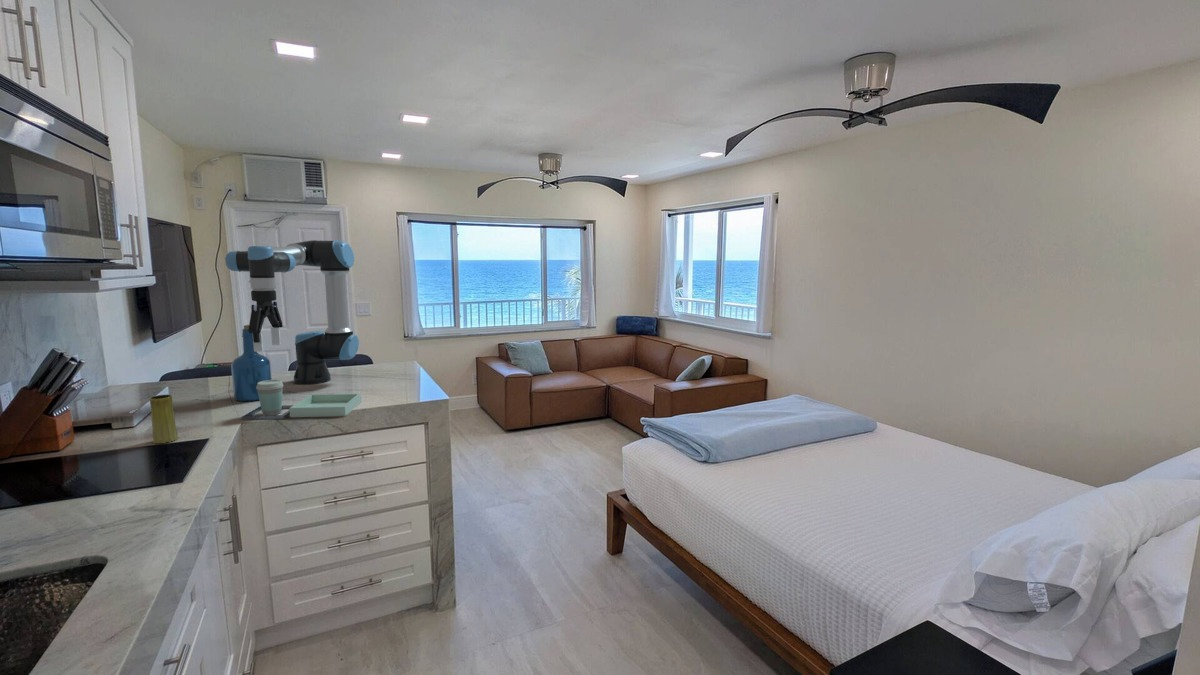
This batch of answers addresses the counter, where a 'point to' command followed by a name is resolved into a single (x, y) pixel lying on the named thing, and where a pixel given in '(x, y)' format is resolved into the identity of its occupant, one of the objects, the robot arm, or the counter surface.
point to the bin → (325, 405)
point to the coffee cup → (270, 396)
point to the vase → (163, 419)
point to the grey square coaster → (249, 415)
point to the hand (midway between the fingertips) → (267, 348)
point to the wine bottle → (249, 370)
